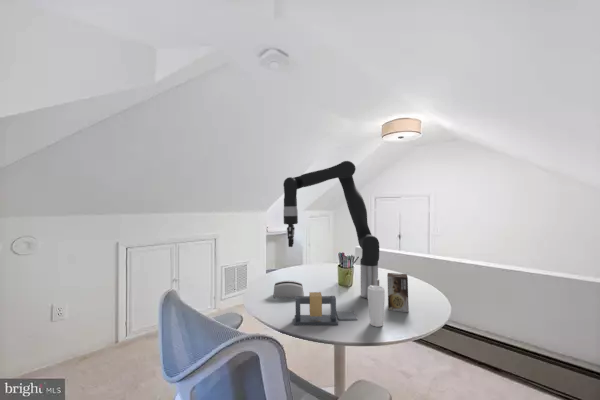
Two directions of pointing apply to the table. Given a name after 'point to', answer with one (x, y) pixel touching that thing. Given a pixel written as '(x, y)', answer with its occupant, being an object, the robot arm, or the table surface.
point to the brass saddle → (315, 303)
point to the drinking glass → (376, 305)
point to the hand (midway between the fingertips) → (291, 245)
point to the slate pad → (346, 315)
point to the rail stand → (316, 320)
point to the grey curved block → (288, 289)
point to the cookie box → (398, 292)
